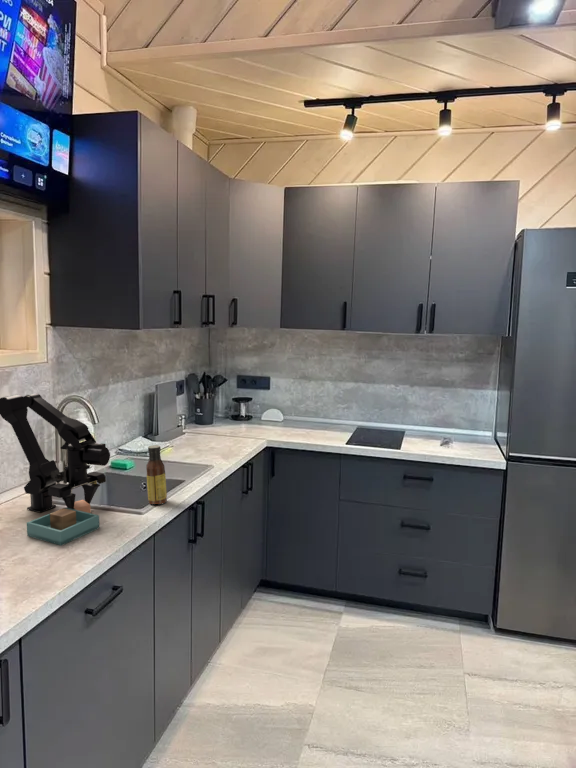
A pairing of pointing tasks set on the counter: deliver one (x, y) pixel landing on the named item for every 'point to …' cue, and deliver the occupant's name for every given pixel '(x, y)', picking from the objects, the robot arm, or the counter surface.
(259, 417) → the counter surface
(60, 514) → the walnut block
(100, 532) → the counter surface
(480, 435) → the counter surface
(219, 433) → the counter surface
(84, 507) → the terracotta carton
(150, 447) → the sauce bottle
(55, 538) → the tote
